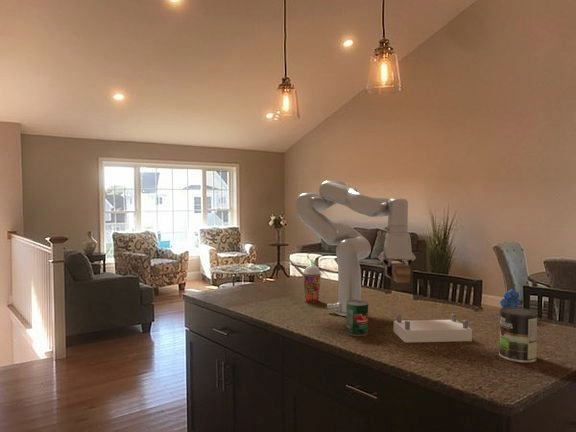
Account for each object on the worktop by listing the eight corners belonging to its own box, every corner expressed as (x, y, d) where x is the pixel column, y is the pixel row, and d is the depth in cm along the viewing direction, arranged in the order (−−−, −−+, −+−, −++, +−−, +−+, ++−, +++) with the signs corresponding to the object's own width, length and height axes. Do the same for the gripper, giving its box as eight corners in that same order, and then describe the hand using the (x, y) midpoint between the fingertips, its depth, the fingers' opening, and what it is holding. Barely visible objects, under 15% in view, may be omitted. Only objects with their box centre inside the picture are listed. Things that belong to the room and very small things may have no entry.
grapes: (508, 314, 192) (509, 286, 191) (524, 318, 186) (524, 288, 186) (491, 318, 186) (491, 288, 185) (506, 322, 180) (506, 291, 180)
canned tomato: (363, 337, 160) (363, 305, 160) (342, 333, 164) (342, 303, 164) (371, 331, 167) (371, 301, 167) (351, 328, 171) (351, 299, 171)
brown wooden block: (410, 282, 173) (410, 266, 173) (397, 282, 172) (397, 266, 172) (396, 275, 189) (396, 260, 188) (384, 275, 188) (384, 260, 188)
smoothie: (300, 302, 217) (300, 259, 216) (306, 298, 224) (306, 257, 224) (317, 303, 213) (317, 260, 213) (323, 300, 221) (323, 258, 221)
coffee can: (511, 363, 134) (511, 315, 134) (492, 352, 144) (493, 307, 144) (544, 362, 135) (545, 314, 134) (523, 351, 145) (524, 306, 145)
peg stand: (405, 342, 154) (405, 323, 154) (393, 331, 167) (393, 313, 167) (471, 341, 156) (472, 321, 155) (455, 330, 169) (455, 312, 168)
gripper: (378, 230, 176) (377, 278, 176) (422, 230, 177) (421, 277, 177) (373, 229, 183) (373, 274, 184) (415, 229, 184) (414, 274, 185)
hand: (396, 275), depth 181 cm, fingers closed on brown wooden block, 5 cm apart
